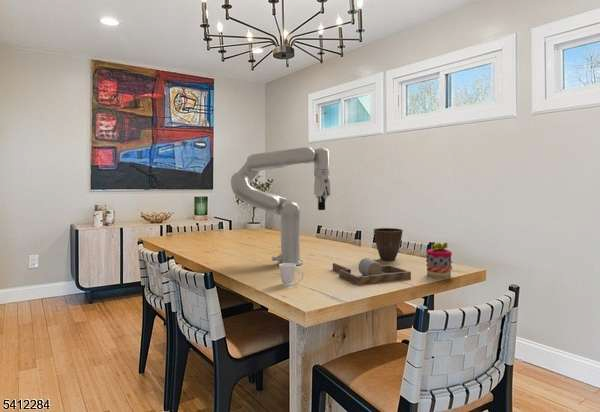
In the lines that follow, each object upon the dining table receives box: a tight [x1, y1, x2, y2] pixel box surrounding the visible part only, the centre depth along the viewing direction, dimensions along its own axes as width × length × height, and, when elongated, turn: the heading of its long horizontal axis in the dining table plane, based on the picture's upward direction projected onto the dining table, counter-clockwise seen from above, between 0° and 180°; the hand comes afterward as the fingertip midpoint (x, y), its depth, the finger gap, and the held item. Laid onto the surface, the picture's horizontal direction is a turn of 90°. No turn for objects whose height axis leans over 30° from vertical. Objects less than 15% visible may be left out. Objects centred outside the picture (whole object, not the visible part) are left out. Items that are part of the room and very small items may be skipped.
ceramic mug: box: [357, 257, 386, 276], centre depth 171 cm, size 11×8×8 cm
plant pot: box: [373, 227, 403, 262], centre depth 208 cm, size 15×15×16 cm
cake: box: [425, 242, 453, 279], centre depth 171 cm, size 10×11×15 cm
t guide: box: [332, 262, 412, 286], centre depth 174 cm, size 26×29×3 cm
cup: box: [278, 263, 304, 287], centre depth 157 cm, size 7×10×8 cm
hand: (321, 209), depth 198 cm, fingers closed
